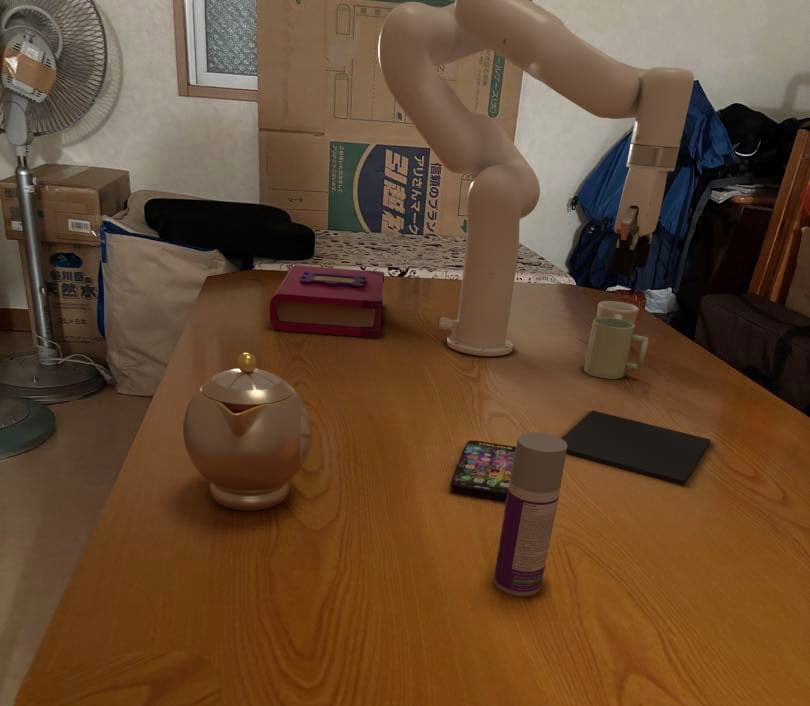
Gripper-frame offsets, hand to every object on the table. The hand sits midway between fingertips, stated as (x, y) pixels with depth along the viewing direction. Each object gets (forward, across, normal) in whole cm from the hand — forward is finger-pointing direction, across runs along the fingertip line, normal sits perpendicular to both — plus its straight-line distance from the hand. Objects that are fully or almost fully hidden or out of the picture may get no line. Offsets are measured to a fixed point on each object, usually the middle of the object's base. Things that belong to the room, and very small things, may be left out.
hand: (628, 270), depth 131 cm
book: (+18, +4, -58) cm, 60 cm away
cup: (+18, -18, -5) cm, 26 cm away
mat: (+18, +32, +13) cm, 39 cm away
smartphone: (+18, +54, 0) cm, 57 cm away
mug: (+18, 0, +1) cm, 18 cm away
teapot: (+18, +76, -20) cm, 80 cm away
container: (+18, +76, +13) cm, 79 cm away
